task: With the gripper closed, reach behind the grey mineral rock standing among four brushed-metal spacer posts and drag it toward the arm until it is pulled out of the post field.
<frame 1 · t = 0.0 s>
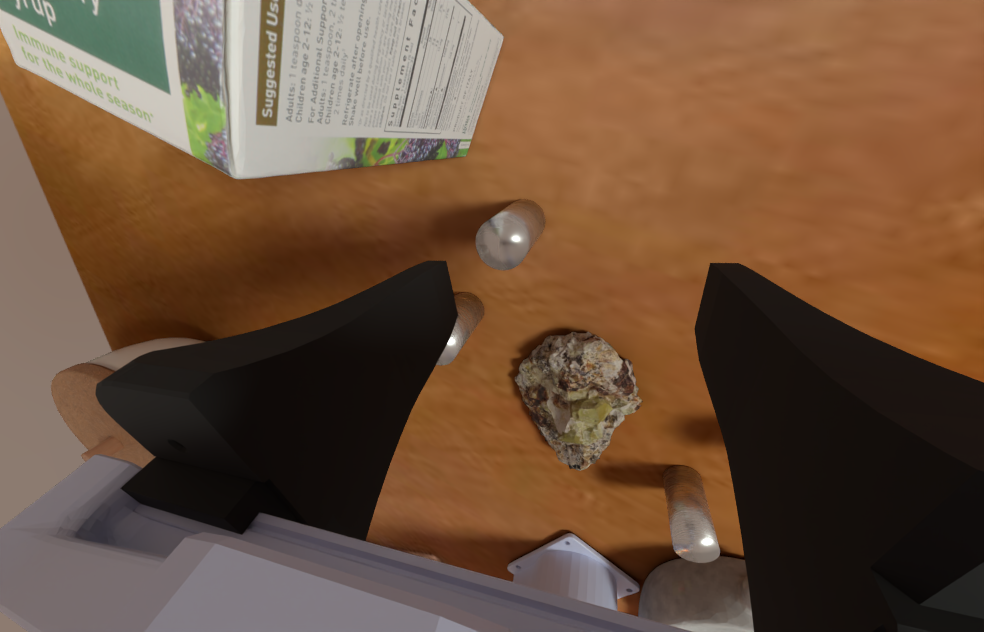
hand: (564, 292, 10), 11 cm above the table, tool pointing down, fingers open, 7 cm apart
dish: (724, 599, 30), on the table
mineral rock: (576, 390, 25), on the table
syrup box: (439, 76, 19), on the table
spacer posts: (576, 395, 25), on the table
lidded bowl: (230, 371, 35), on the table
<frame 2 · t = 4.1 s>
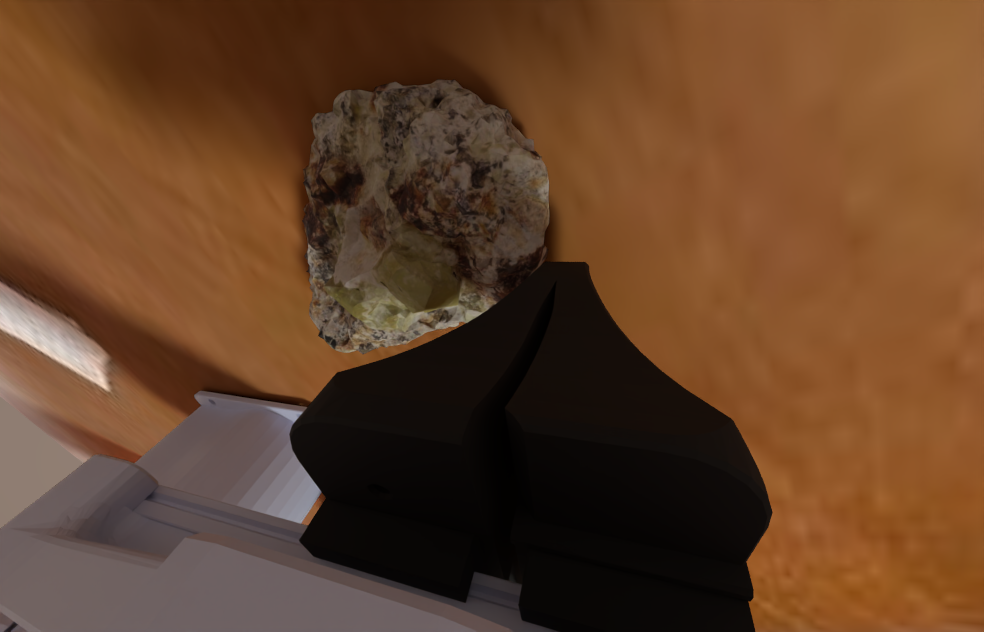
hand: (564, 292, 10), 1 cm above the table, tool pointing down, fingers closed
mineral rock: (418, 232, 13), on the table, touching gripper
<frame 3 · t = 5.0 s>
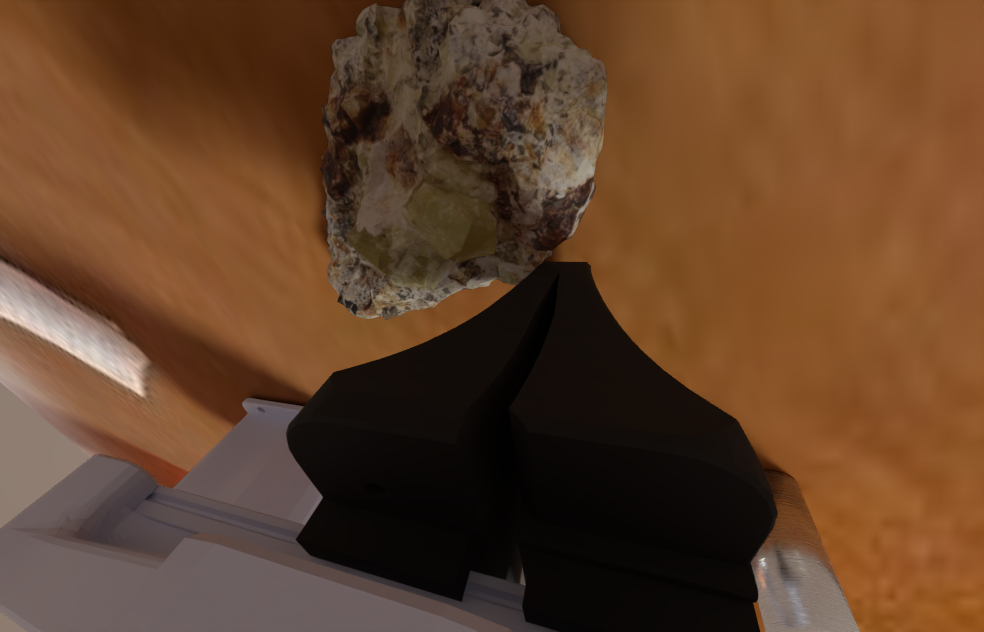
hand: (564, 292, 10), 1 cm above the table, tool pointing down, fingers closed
mineral rock: (445, 183, 12), on the table, touching gripper
spacer posts: (593, 269, 11), on the table
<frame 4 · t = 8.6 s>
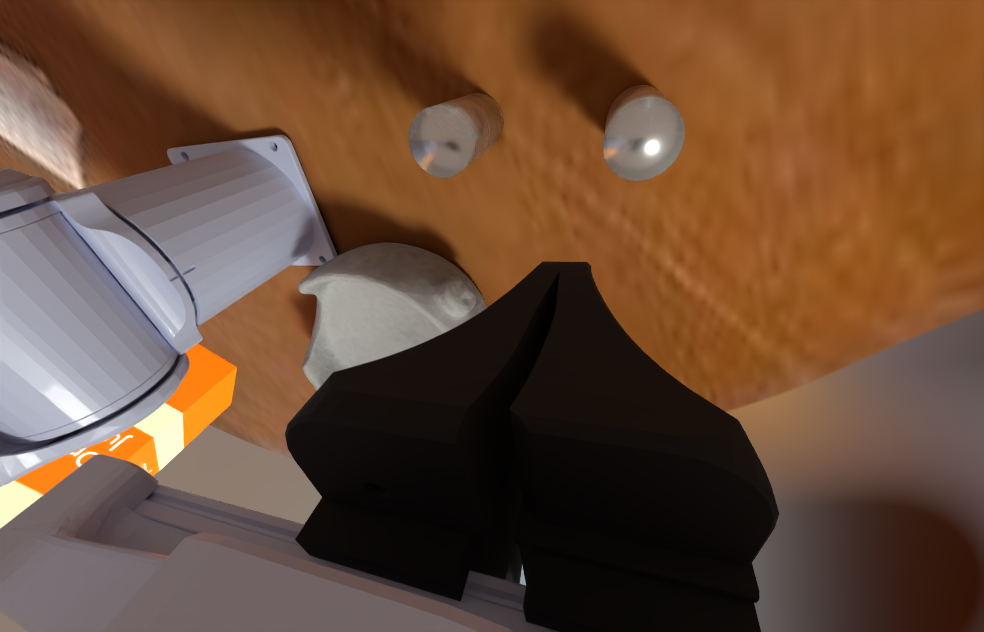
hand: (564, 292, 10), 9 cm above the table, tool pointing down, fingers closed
dish: (416, 320, 27), on the table
orange juice: (203, 366, 39), on the table
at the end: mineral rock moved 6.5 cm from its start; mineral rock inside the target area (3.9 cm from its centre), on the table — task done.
